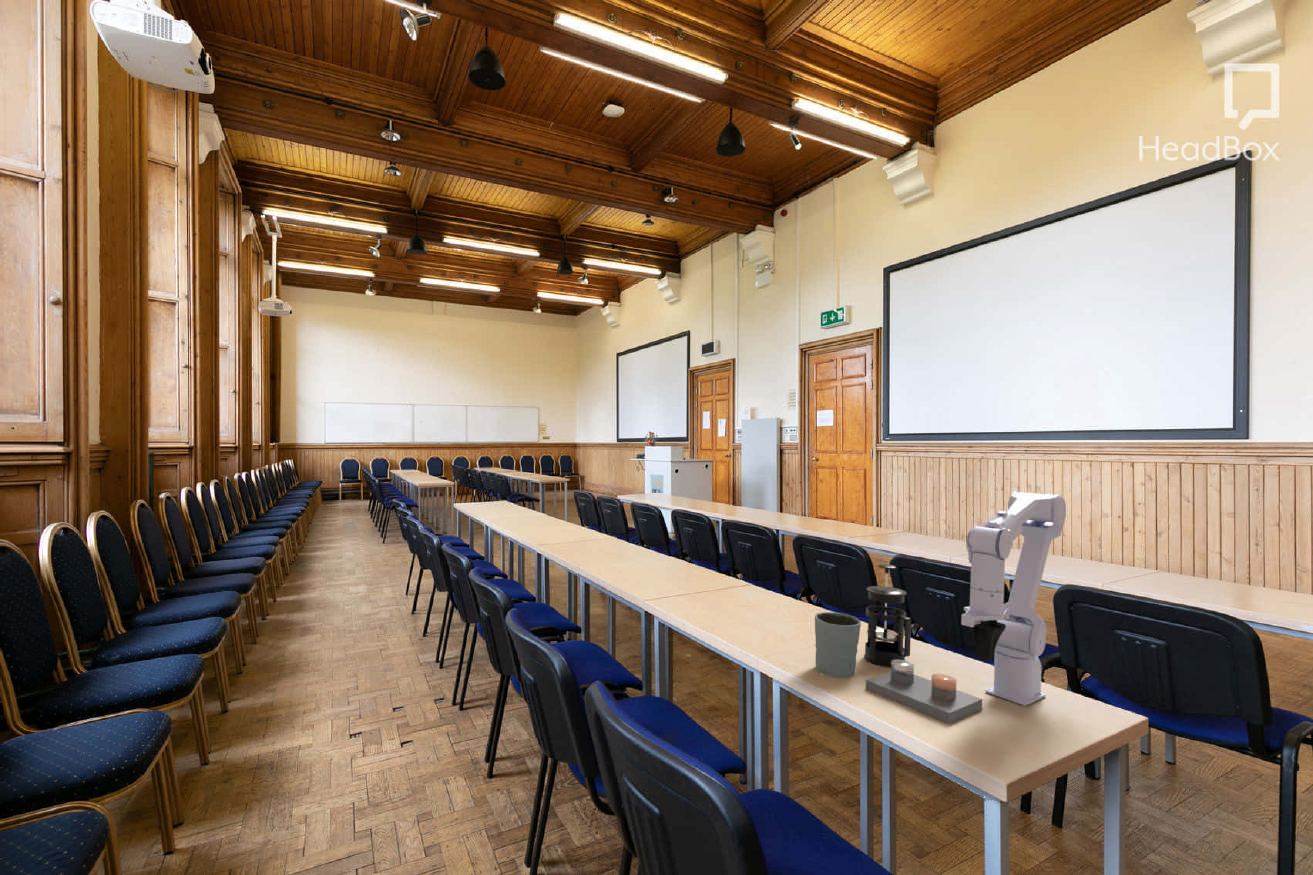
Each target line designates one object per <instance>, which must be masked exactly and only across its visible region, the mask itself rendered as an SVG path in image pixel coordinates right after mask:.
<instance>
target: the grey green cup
mask: <svg viewBox="0 0 1313 875" xmlns="http://www.w3.org/2000/svg"><path fill="white" fill-rule="evenodd" d="M861 625H862V621H861V620H860V619H859V618H857V617H856V616H853V615H850V614H846V613H843V612H842V613H841V612H835V611H833V612H832V611H828V612H827V611H824V612H818V613H816V614H815V615H814V632H815V634H814V635H815V669H816V671H817V672H818V673H819V674H821V673H822V674H821V675H824V676H827V675H828V677H830V676H831V677H830V678H837V679H838V678H839V679H840V678H841V679H847V678H851V676H852V677H854V676H855V673H856V667H857V653H858V645H859V639H860V633H861Z"/></svg>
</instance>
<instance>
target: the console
mask: <svg viewBox="0 0 1313 875" xmlns="http://www.w3.org/2000/svg"><path fill="white" fill-rule="evenodd" d="M865 690H866V691H869V692H871V693H873V694H876V695H879V696H881V697H883V698H886V699H888V700H890V701H892V702H895V703H897V704H900V705H902V706H904V707H908V708H910V709H912V710H914V711H917V712H920V713H922V714H924V715H926V716H929V717H931V718H934V719H936V720H938V721H941V722H943V723H946V724H948V725H949V724H952V723H954V722H957V721H959V720H961V719H964V718H966V717H968V716H970V715H972V714H975V713H977V712H980V711H982V710H983V699H982V698H980V697H977V696H975V695H972V694H968V693H967V692H963V691H961V690H958V689H956V690H953V691H946V690H941V689H938V688H935V687H934V686H932V679H931V680H930V679H928V678H925V677H922V676H919V675H917V674H915V673H914V674H912V675H901V674H897V673H895V672H893V671H892V670H891V671H890V672H886V673H883V674H880V675H877V676H873V677H870V678H868V679H865Z"/></svg>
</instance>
